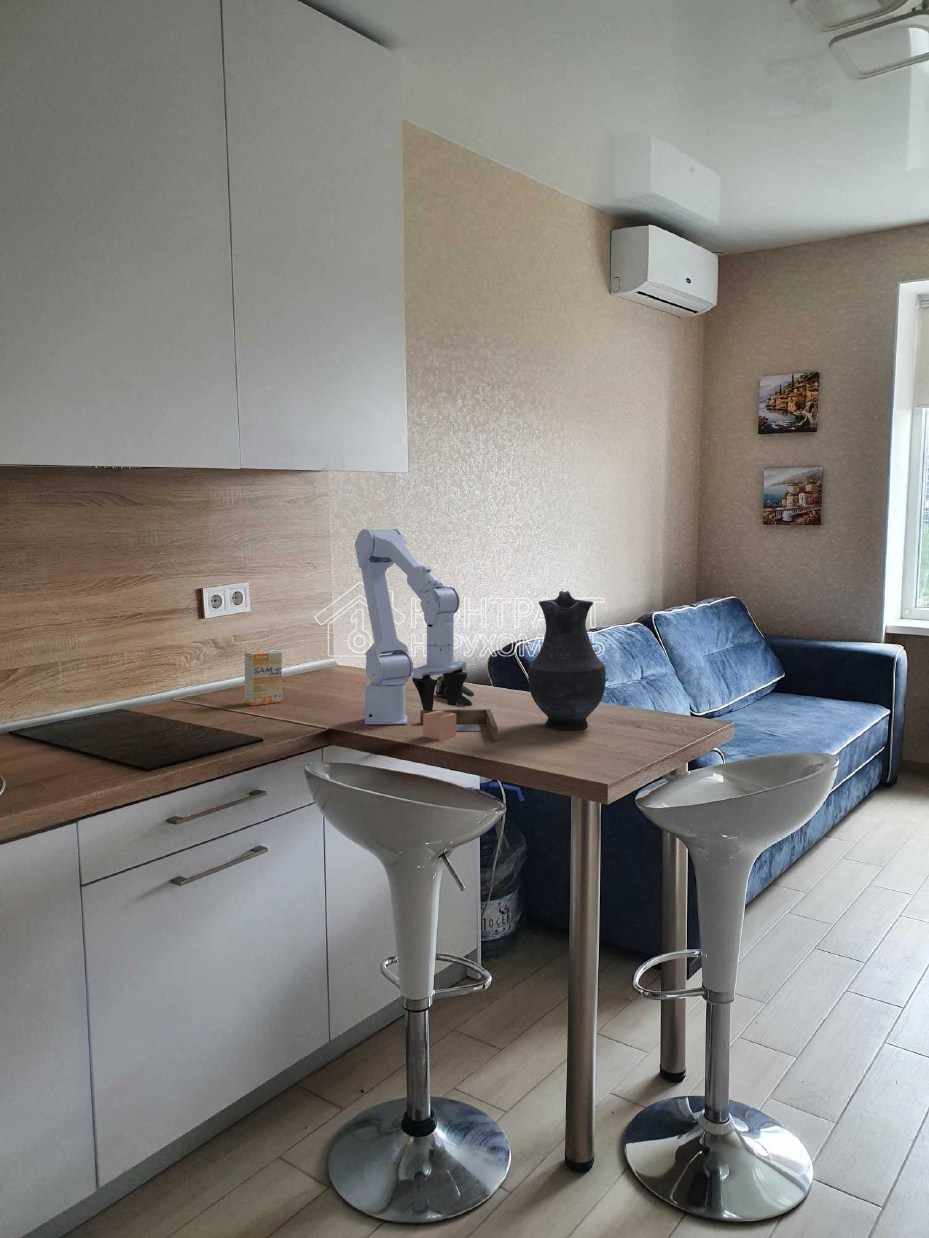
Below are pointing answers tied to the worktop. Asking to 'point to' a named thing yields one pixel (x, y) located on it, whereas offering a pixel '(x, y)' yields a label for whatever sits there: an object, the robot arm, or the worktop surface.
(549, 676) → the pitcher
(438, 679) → the can opener
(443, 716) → the cube
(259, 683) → the supplement box
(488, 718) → the arena
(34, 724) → the worktop surface
